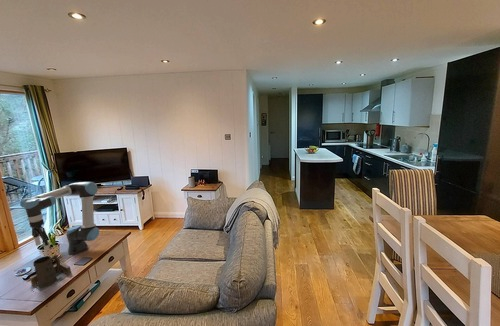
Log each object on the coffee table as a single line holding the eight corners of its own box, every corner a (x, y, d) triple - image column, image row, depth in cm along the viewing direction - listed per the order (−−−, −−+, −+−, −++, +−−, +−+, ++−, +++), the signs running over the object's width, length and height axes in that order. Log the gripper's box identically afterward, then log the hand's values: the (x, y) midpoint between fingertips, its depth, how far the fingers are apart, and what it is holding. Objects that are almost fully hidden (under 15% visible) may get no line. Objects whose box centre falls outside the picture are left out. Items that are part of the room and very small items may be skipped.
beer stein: (45, 289, 168) (40, 263, 165) (33, 287, 170) (28, 262, 167) (65, 276, 182) (62, 252, 180) (54, 274, 185) (50, 251, 182)
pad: (60, 272, 187) (60, 271, 187) (68, 276, 181) (68, 276, 181) (33, 285, 172) (33, 285, 172) (41, 290, 166) (41, 290, 166)
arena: (62, 268, 191) (61, 262, 190) (71, 273, 184) (69, 266, 183) (31, 284, 174) (29, 277, 172) (40, 290, 167) (38, 283, 166)
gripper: (21, 219, 169) (28, 245, 173) (37, 225, 157) (44, 253, 162) (34, 215, 176) (41, 240, 180) (50, 221, 164) (57, 248, 168)
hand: (42, 247), depth 171 cm, fingers open, 13 cm apart
